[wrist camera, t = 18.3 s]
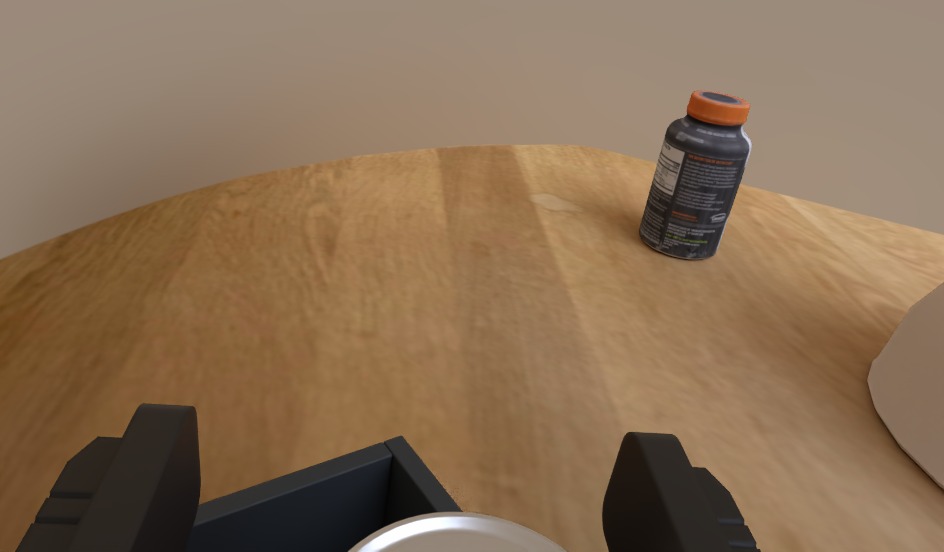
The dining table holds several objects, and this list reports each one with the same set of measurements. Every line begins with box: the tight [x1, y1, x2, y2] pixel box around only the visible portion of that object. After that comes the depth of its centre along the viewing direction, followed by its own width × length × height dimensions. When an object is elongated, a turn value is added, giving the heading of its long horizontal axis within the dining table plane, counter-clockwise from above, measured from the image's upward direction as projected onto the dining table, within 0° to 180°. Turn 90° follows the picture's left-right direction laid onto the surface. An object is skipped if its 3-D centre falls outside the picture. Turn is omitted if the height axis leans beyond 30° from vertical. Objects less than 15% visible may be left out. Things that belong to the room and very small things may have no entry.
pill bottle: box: [639, 91, 751, 260], centre depth 51 cm, size 6×6×11 cm
